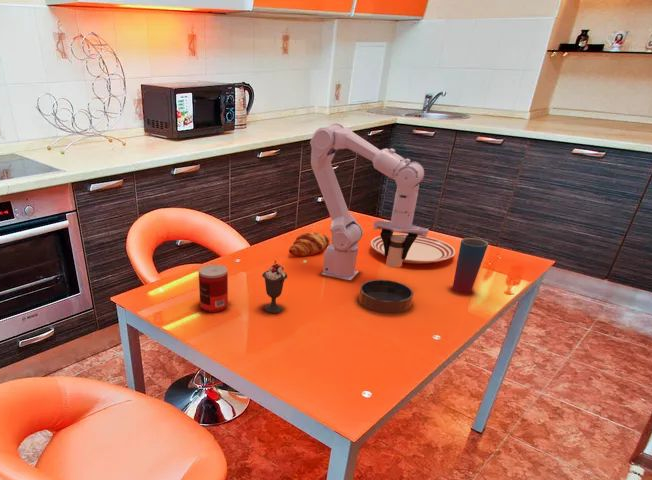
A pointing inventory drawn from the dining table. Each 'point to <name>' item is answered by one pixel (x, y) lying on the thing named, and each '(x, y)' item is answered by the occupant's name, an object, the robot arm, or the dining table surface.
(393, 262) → the beige cylinder
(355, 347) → the dining table surface
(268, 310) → the sundae
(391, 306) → the pan
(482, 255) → the cup
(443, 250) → the dinner plate
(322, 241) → the croissant
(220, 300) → the canned food
